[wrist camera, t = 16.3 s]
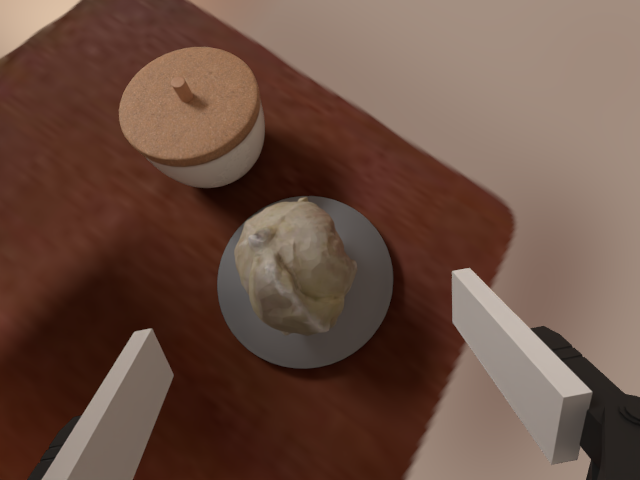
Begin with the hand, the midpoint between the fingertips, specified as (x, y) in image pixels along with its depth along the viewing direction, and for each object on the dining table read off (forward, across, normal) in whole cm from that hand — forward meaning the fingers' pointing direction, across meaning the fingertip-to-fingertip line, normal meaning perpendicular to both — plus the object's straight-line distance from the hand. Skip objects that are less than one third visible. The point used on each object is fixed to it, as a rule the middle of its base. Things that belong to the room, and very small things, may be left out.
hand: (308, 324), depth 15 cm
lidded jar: (+22, -6, +4) cm, 23 cm away
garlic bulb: (+12, 0, -4) cm, 13 cm away
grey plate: (+12, 0, -5) cm, 13 cm away
